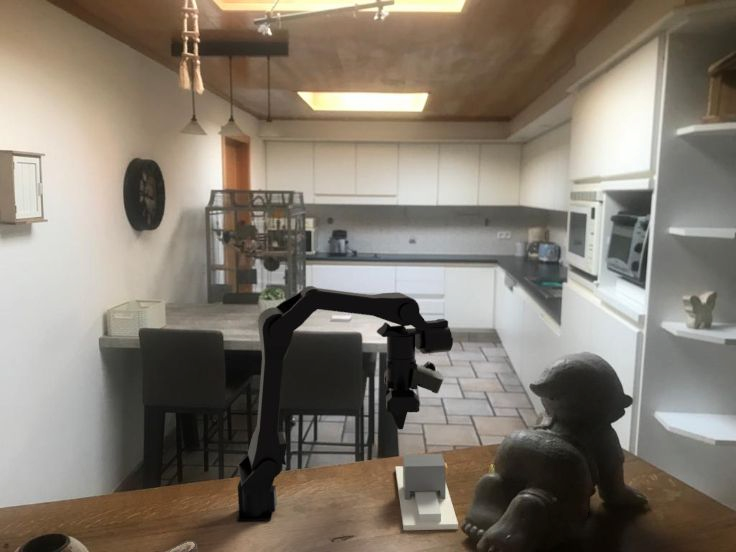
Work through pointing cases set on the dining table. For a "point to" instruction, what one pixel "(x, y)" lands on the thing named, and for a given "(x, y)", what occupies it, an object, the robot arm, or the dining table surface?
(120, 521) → the dining table surface
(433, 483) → the din module
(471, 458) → the dining table surface
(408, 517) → the rail plate
